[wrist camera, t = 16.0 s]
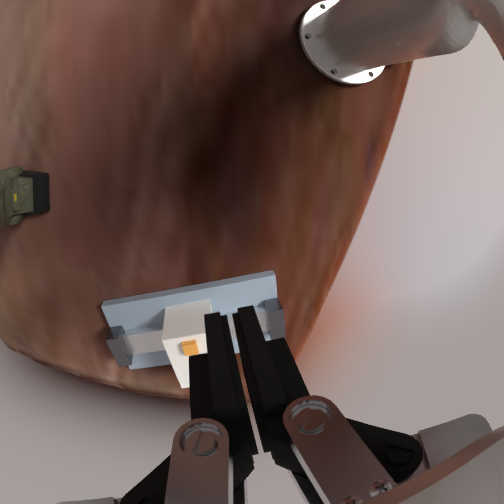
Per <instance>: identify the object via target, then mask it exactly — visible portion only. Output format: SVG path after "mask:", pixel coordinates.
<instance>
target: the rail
mask: <svg viewBox="0 0 504 504" xmlns="http://www.w3.org/2000/svg"><path fill="white" fill-rule="evenodd" d="M263 303H264V305H261V306H256V307H254V309H255V312H256V315H257V317H258V320H259V323H260V326H261V329H262V332H266V331H268V334H269V336H270V339H271V340H273V339H277V338H282V337H284V338H286V337H285V323H284V311H283V307H282V305H281V303H280V301H279V299H278V297H276V298H272V299H267V300H263ZM237 312H238V311H237V310H236V311H231V312H226V313H221V314H220V315H221V316H222V315H227V318H228V323H229V328H230V332H231V337H232V338H237V337H236V332H235V327H234V322H233V317H232V313H237ZM163 325H164V324H158V325H151V326H145V327H138V328H131V329H124V328H123V326H122V325H121V326H114V327H110V328H109V331H108V334H107V337H106V342H107V344H108V346H109V348H110V350H111V352H112V354H113V356H114V358H115V360H116V362H117V364H118V366H119V367H121V366H131V365H132V359H133V354H140V353H148V352H155V351H162V350H166V349H165V347H164V344H163V342H162V334H163Z"/></svg>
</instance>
